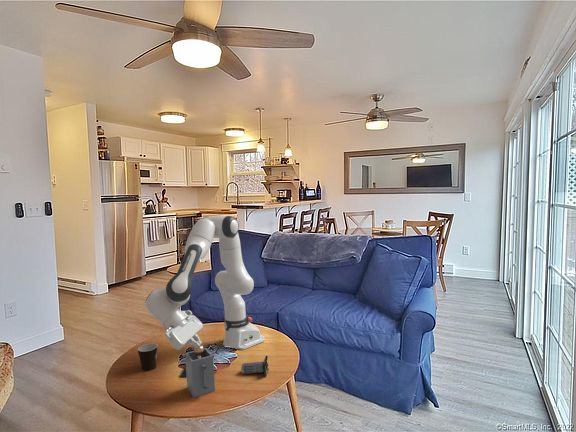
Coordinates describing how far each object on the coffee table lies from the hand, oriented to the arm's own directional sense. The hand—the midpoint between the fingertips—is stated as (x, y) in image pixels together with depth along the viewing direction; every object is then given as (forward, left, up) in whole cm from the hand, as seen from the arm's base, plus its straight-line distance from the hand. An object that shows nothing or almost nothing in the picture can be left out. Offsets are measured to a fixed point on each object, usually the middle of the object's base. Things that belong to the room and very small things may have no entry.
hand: (199, 345), depth 147 cm
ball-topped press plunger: (0, 0, -14) cm, 14 cm away
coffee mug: (+14, -33, -19) cm, 41 cm away
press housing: (0, +1, -19) cm, 19 cm away
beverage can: (-24, 0, -19) cm, 31 cm away
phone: (-2, -19, -19) cm, 28 cm away
